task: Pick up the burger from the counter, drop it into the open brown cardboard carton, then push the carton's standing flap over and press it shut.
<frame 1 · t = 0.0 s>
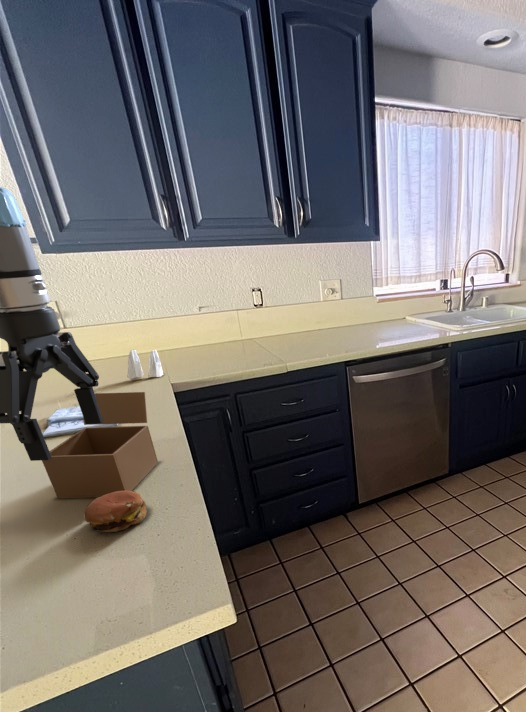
hand: (70, 439, 71), 17 cm above the counter, tool pointing down, fingers open, 13 cm apart
snack bag: (87, 421, 123), on the counter
flap: (114, 408, 95), point 13 cm above the counter, hinge at 110.0°
carton: (111, 479, 93), on the counter
burger: (120, 520, 79), on the counter
shaker set: (146, 378, 160), on the counter
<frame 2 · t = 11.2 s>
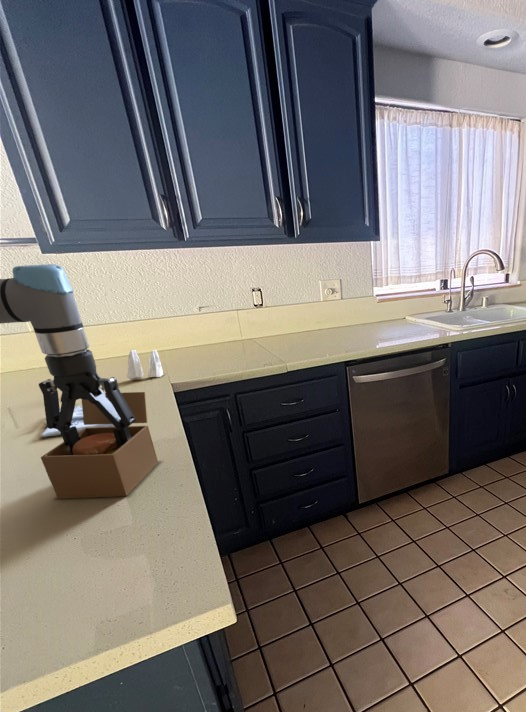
hand: (103, 456, 90), 6 cm above the counter, tool pointing down, fingers closed on burger, 9 cm apart
burger: (104, 458, 91), point 5 cm above the counter, touching gripper
everything else where it was.
when the fingers open (9 cm above the counter, at t = 27.9 s): burger stays where it is, resting on carton.
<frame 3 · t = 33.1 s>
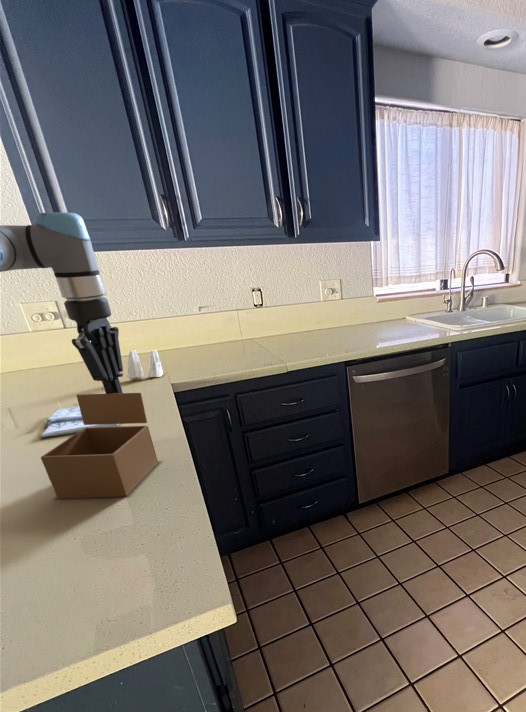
hand: (118, 406, 96), 13 cm above the counter, tool pointing down, fingers closed
flap: (112, 408, 94), point 14 cm above the counter, hinge at 97.3°
burger: (112, 477, 93), resting on carton
everything else where it was.
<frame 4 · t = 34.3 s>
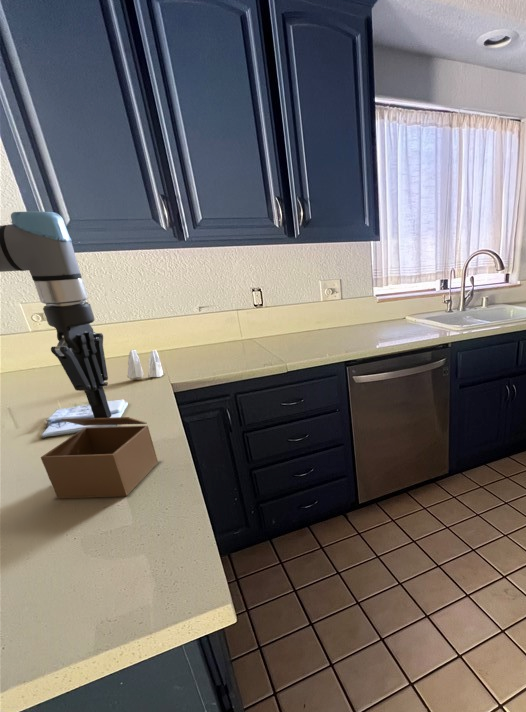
hand: (103, 417, 91), 13 cm above the counter, tool pointing down, fingers closed
flap: (105, 421, 91), point 12 cm above the counter, hinge at 33.1°, touching gripper
everything else where it was.
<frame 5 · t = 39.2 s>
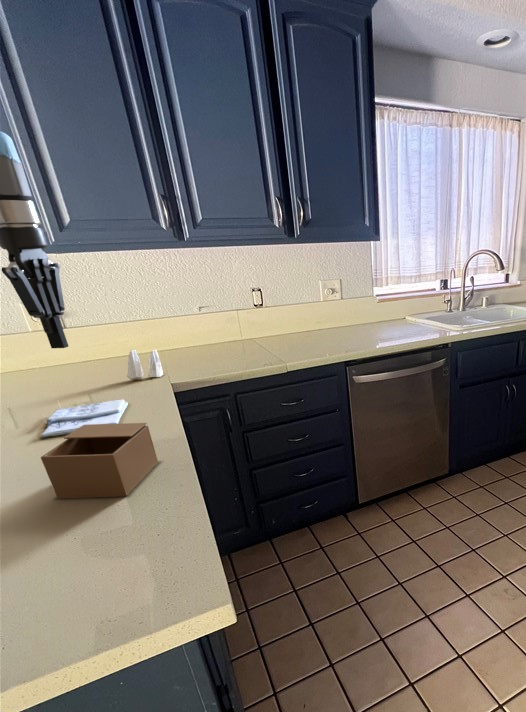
hand: (60, 347, 92), 26 cm above the counter, tool pointing down, fingers closed
flap: (106, 430, 92), point 10 cm above the counter, hinge at 0.7°
everything else where it was.
at the end: burger inside the target area in the carton (0.4 cm from its centre), point 0.3 cm above the carton's base; flap at +1° (first picture: +110°) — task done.
